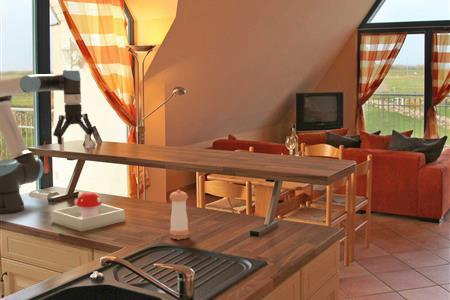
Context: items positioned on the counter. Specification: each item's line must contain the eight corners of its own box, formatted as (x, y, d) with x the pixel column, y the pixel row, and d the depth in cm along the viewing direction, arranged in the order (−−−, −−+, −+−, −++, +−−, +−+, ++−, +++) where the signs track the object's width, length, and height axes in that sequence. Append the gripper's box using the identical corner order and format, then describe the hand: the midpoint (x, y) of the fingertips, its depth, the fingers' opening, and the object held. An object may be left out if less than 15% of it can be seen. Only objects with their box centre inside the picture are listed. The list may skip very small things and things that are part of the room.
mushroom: (105, 215, 258) (104, 189, 256) (98, 222, 247) (97, 194, 245) (82, 215, 259) (80, 189, 257) (73, 221, 248) (72, 194, 246)
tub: (52, 222, 252) (52, 210, 251) (95, 212, 268) (94, 201, 267) (81, 231, 237) (80, 219, 236) (124, 220, 253) (124, 209, 252)
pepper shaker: (181, 241, 222) (180, 192, 220) (166, 238, 226) (165, 190, 223) (192, 236, 228) (191, 189, 226) (177, 234, 232) (176, 187, 229)
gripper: (52, 105, 253) (55, 153, 256) (100, 102, 272) (102, 147, 275) (43, 104, 258) (46, 151, 262) (91, 102, 277) (93, 146, 280)
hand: (74, 149), depth 268 cm, fingers open, 13 cm apart
